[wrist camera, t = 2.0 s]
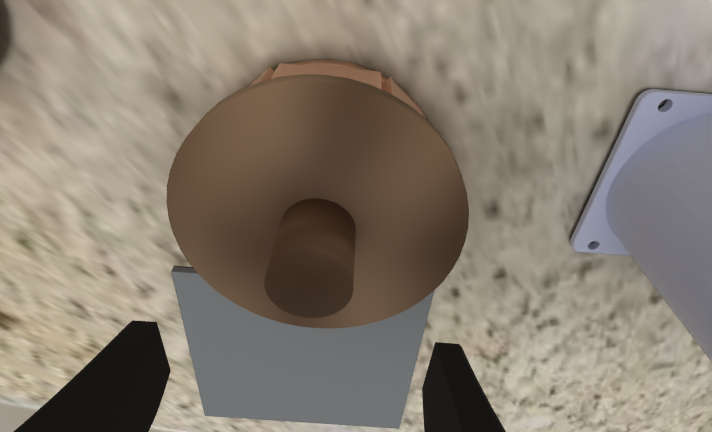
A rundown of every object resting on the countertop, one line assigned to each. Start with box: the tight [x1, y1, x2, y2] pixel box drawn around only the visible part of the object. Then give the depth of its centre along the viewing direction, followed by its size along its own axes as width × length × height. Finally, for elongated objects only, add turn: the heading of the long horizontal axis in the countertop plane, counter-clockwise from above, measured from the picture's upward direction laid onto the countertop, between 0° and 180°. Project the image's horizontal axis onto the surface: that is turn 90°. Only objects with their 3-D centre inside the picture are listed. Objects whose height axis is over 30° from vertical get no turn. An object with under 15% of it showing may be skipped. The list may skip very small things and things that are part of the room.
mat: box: [171, 267, 434, 429], centre depth 27 cm, size 14×14×1 cm
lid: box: [167, 74, 469, 329], centre depth 15 cm, size 11×11×4 cm
